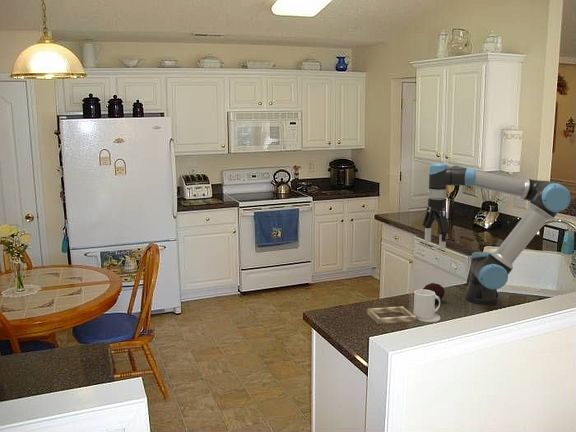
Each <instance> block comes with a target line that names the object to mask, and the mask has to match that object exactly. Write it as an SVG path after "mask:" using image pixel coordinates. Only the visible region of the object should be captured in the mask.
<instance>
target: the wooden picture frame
mask: <svg viewBox="0 0 576 432" xmlns="http://www.w3.org/2000/svg"><path fill="white" fill-rule="evenodd" d="M393 312H394V313H401V314H403V315H401V316H400V315H399V316H391V317H380V316H379V315H380V314H391V313H392V314H393ZM366 314H367V315H368V317H370V318H371V319H372V320H373V321H374V322H376V324H377V325H378V324H379V325H381V324H394V323H396V324H397V323H407V322H408V323H409V322H410V323H411V322H416V321H417V320H416V316H415V315H414V313H413V312H411V311H409V310H408V309H407V308H405V306H388V307H387V306H386V307H374V308H372V307H371V308H366ZM378 314H379V315H378Z"/></svg>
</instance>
